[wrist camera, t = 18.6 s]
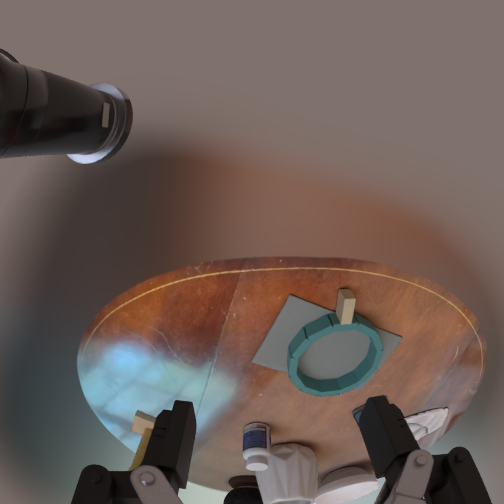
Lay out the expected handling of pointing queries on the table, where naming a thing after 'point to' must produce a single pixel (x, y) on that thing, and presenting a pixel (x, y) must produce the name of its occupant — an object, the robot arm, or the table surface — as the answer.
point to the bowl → (345, 486)
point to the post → (144, 427)
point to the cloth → (426, 421)
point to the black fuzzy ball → (244, 491)
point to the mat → (318, 344)
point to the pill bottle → (257, 446)
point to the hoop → (324, 326)
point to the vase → (289, 475)
